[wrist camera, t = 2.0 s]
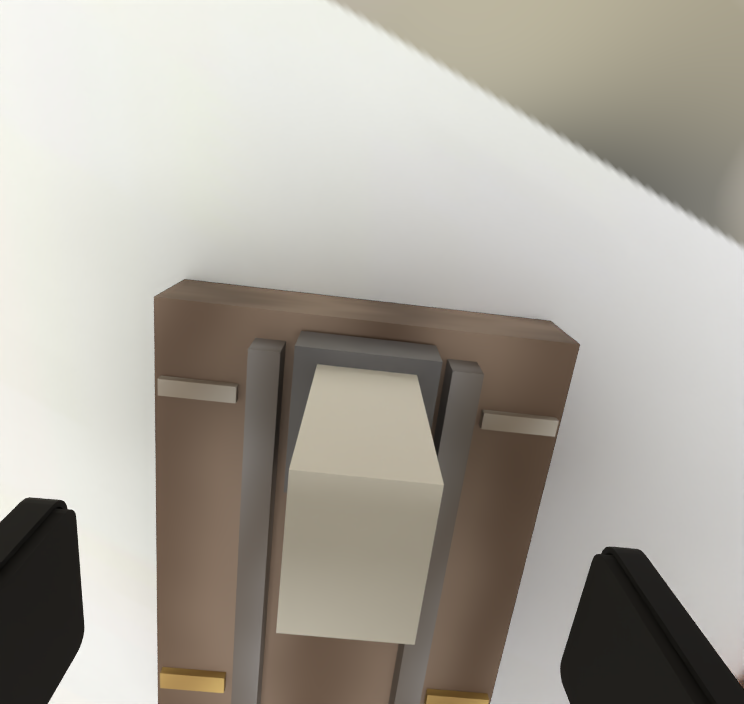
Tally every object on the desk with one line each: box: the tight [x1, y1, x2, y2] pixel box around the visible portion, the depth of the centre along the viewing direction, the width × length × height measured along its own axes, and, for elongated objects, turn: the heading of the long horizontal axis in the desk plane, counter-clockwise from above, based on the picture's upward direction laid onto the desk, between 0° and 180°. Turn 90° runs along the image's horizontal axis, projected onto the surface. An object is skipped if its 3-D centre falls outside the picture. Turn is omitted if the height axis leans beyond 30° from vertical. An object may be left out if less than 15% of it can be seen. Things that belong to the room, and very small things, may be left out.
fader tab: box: [276, 331, 444, 645], centre depth 15 cm, size 4×5×8 cm
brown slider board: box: [154, 279, 580, 704], centre depth 22 cm, size 14×22×4 cm, turn 173°
